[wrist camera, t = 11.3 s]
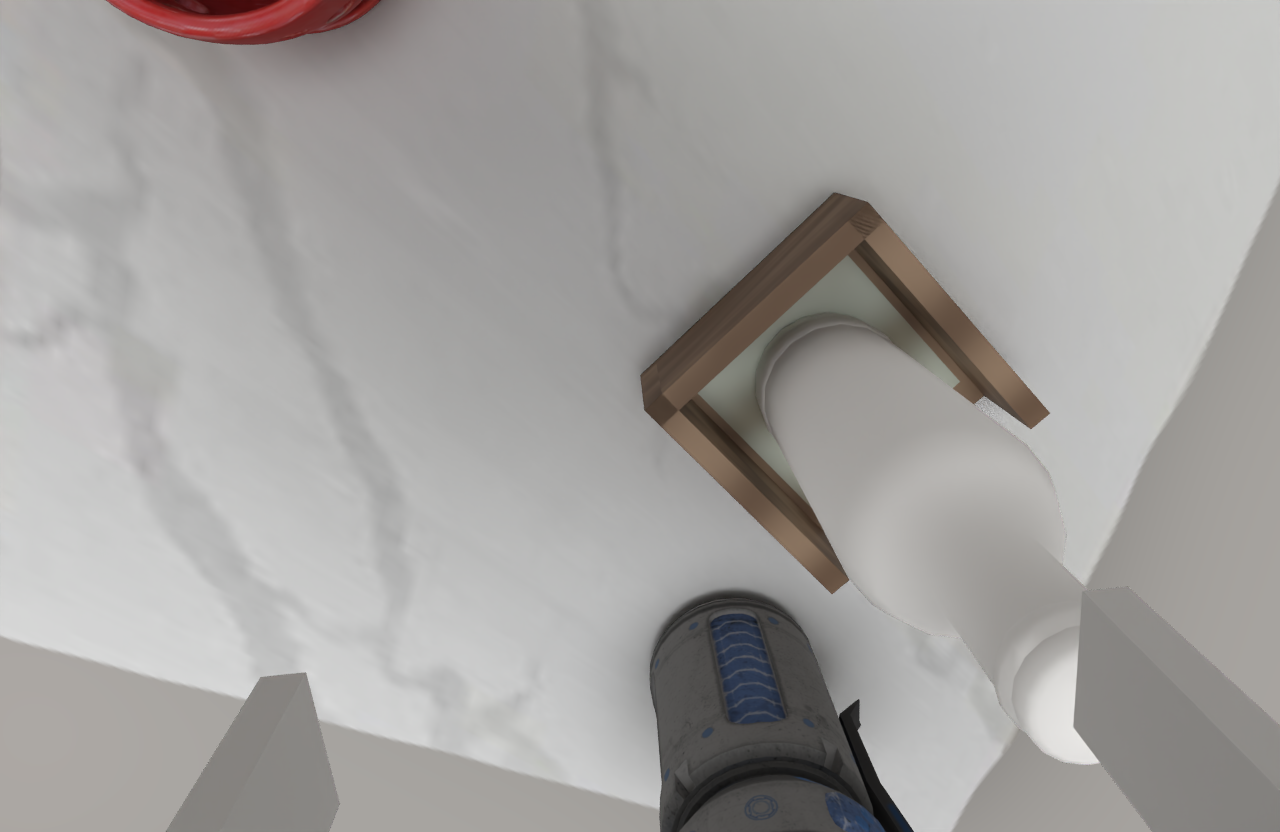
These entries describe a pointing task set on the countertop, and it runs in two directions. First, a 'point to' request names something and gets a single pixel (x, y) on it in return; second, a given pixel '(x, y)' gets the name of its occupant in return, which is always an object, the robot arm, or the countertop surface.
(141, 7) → the plant pot
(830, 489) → the bottle
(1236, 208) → the countertop surface
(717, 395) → the wooden stand
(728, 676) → the beverage bottle
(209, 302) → the countertop surface
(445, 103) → the countertop surface
